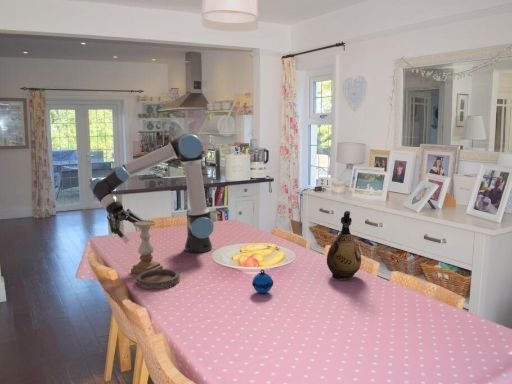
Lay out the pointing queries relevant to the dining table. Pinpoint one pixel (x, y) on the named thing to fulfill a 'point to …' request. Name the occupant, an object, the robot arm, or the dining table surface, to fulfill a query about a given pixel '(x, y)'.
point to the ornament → (262, 282)
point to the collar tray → (157, 279)
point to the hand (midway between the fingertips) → (137, 238)
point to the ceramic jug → (344, 253)
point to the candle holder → (145, 249)
